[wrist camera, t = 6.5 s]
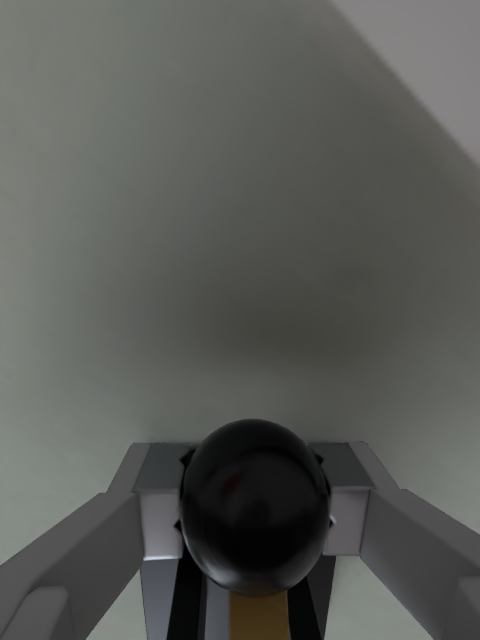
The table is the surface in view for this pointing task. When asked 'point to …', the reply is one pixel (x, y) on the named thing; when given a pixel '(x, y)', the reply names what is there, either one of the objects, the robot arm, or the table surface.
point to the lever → (255, 520)
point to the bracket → (223, 601)
